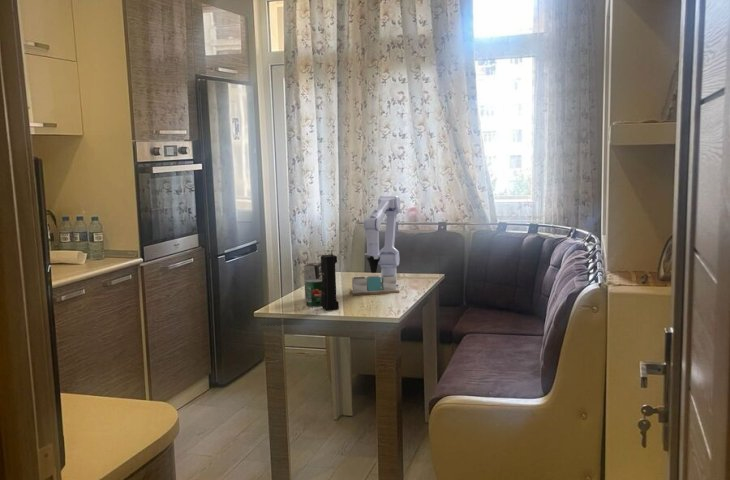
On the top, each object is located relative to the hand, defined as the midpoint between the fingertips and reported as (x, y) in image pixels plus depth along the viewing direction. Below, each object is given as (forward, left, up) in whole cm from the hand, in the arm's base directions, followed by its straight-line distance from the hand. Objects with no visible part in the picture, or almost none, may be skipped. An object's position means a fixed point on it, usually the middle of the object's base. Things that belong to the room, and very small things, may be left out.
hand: (373, 272), depth 322 cm
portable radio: (+29, -25, -10) cm, 40 cm away
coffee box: (+7, -29, -10) cm, 31 cm away
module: (0, 0, -8) cm, 8 cm away
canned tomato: (+20, -30, -10) cm, 38 cm away
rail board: (0, 0, -9) cm, 9 cm away
